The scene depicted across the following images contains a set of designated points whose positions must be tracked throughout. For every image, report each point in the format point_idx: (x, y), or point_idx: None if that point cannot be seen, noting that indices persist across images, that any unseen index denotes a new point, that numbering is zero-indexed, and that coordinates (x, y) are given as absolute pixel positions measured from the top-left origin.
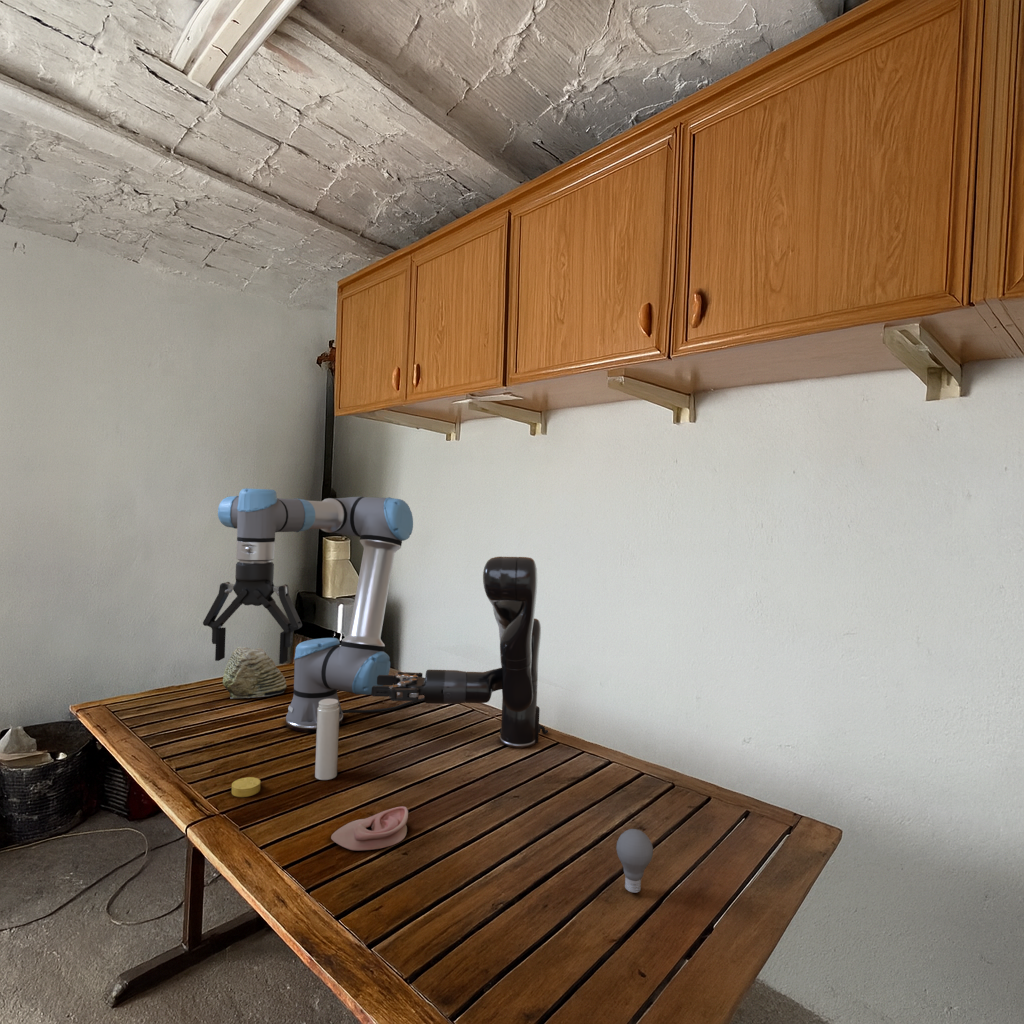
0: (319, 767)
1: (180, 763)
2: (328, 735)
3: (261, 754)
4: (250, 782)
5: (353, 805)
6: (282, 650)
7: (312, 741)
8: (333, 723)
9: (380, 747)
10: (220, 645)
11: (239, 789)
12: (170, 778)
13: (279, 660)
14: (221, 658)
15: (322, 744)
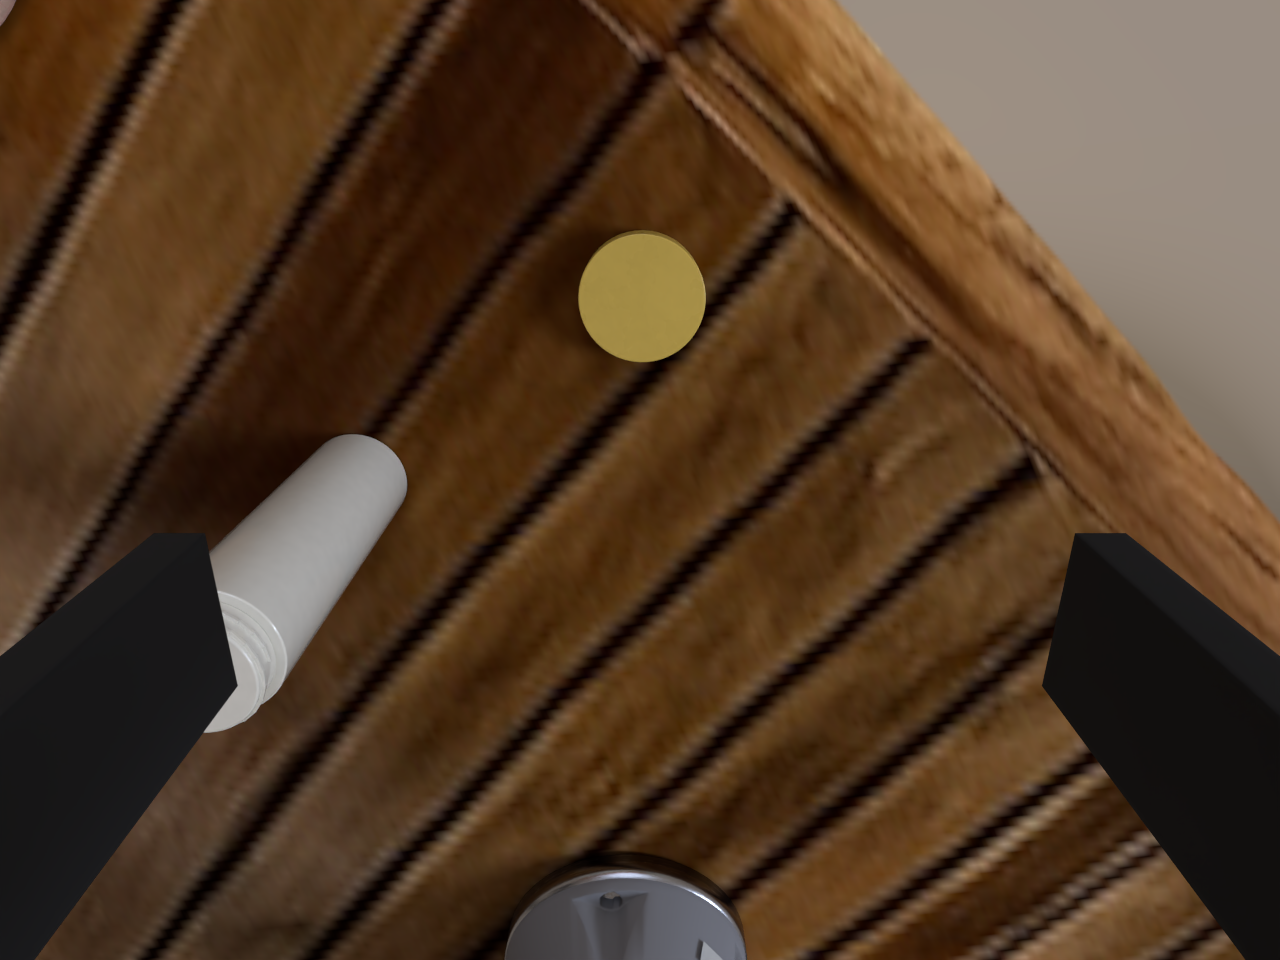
0: (353, 456)
1: (1037, 522)
2: (245, 521)
3: (723, 642)
4: (624, 306)
5: (103, 207)
6: (35, 640)
7: (560, 779)
8: None
9: (251, 756)
10: (1196, 697)
11: (646, 234)
12: (1025, 377)
13: (175, 552)
14: (1065, 613)
15: (298, 499)
